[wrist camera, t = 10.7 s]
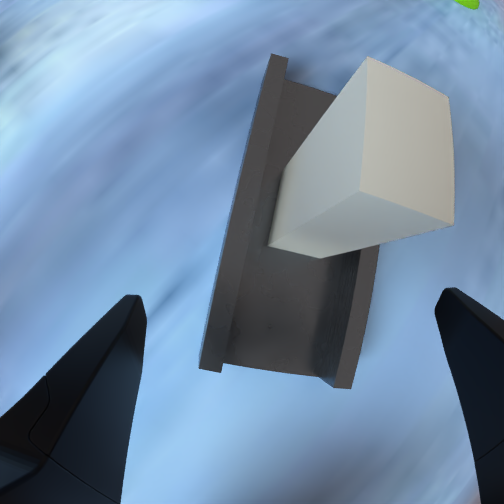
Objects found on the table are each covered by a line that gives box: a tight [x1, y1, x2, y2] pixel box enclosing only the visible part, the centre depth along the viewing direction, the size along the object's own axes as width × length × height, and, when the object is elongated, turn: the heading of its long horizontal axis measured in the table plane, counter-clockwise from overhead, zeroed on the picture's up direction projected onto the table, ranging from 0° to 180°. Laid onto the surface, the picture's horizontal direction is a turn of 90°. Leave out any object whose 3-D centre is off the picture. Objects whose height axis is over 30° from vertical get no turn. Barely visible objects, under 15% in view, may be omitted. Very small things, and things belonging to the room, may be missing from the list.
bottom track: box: [199, 54, 380, 389], centre depth 19 cm, size 20×9×3 cm, turn 168°
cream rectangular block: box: [268, 56, 455, 258], centre depth 14 cm, size 5×4×12 cm
